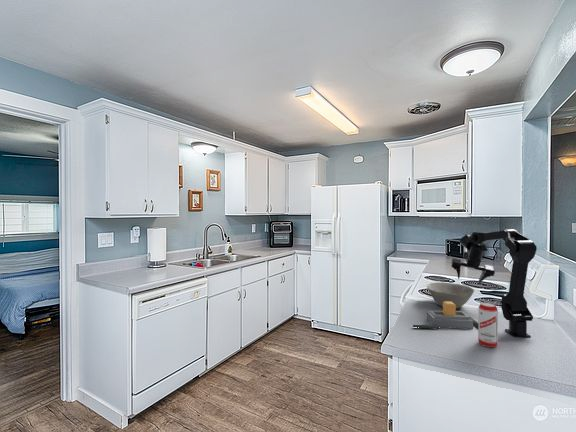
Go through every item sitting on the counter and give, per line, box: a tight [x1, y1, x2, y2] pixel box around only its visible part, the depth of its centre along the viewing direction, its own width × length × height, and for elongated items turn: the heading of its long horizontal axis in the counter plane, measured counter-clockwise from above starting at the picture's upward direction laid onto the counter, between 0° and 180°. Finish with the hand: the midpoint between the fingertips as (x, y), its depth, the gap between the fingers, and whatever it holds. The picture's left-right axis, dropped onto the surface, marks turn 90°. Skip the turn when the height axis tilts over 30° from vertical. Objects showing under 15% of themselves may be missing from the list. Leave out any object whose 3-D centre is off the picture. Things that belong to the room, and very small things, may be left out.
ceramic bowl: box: [426, 282, 475, 309], centre depth 159 cm, size 22×23×10 cm
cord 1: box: [412, 324, 440, 330], centre depth 132 cm, size 2×11×2 cm, turn 83°
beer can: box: [477, 301, 499, 348], centre depth 116 cm, size 6×6×16 cm
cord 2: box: [469, 316, 479, 328], centre depth 136 cm, size 11×2×2 cm, turn 173°
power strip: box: [426, 310, 474, 330], centre depth 137 cm, size 10×16×5 cm, turn 83°
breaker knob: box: [442, 301, 457, 316], centre depth 137 cm, size 4×4×6 cm
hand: (468, 280), depth 156 cm, fingers open, 9 cm apart
